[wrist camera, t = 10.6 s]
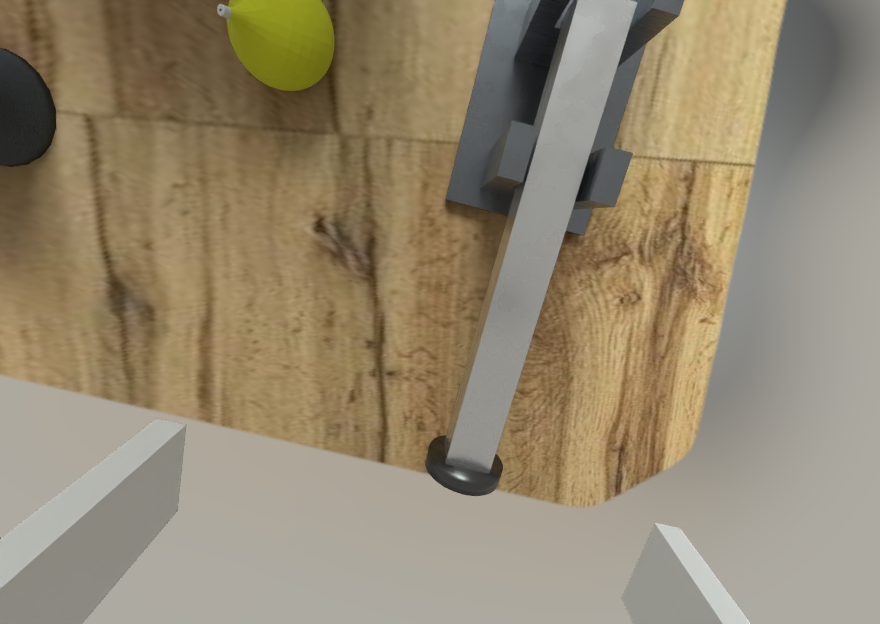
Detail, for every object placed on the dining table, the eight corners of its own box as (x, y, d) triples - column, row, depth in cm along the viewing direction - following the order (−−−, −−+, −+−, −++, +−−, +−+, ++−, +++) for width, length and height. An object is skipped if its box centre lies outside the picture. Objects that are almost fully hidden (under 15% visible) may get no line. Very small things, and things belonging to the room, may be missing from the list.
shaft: (426, 441, 34) (423, 485, 28) (541, 17, 27) (567, -34, 21) (493, 457, 34) (503, 503, 28) (624, 41, 27) (669, -3, 22)
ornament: (239, 68, 33) (155, 7, 24) (280, -18, 32) (209, -121, 22) (317, 120, 34) (268, 81, 24) (360, 38, 33) (326, -38, 23)
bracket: (445, 199, 35) (447, 191, 24) (519, -101, 31) (568, -295, 19) (580, 234, 36) (646, 243, 24) (673, -54, 31) (811, -216, 20)
